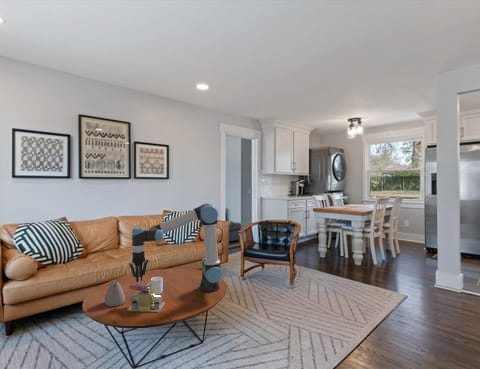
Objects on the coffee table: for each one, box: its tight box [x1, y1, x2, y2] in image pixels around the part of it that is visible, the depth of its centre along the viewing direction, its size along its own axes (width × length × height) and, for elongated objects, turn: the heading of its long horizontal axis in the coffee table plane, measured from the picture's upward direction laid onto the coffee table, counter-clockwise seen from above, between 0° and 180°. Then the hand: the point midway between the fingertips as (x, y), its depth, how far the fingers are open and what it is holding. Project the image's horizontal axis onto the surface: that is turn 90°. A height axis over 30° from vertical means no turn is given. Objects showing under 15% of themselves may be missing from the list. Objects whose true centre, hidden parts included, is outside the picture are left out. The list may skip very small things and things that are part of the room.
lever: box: [129, 283, 151, 293], centre depth 180 cm, size 15×4×3 cm, turn 67°
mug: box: [145, 276, 164, 295], centre depth 199 cm, size 12×8×10 cm
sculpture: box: [104, 279, 126, 308], centre depth 184 cm, size 13×12×15 cm
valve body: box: [126, 288, 166, 313], centre depth 178 cm, size 20×12×10 cm, turn 87°
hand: (139, 286), depth 183 cm, fingers closed
